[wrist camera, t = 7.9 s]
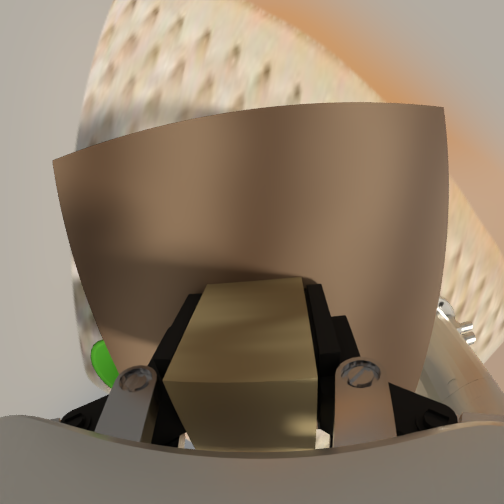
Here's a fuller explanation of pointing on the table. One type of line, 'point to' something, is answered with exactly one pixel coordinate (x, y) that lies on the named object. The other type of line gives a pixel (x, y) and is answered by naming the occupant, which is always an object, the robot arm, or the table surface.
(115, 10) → the table surface
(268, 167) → the cover
